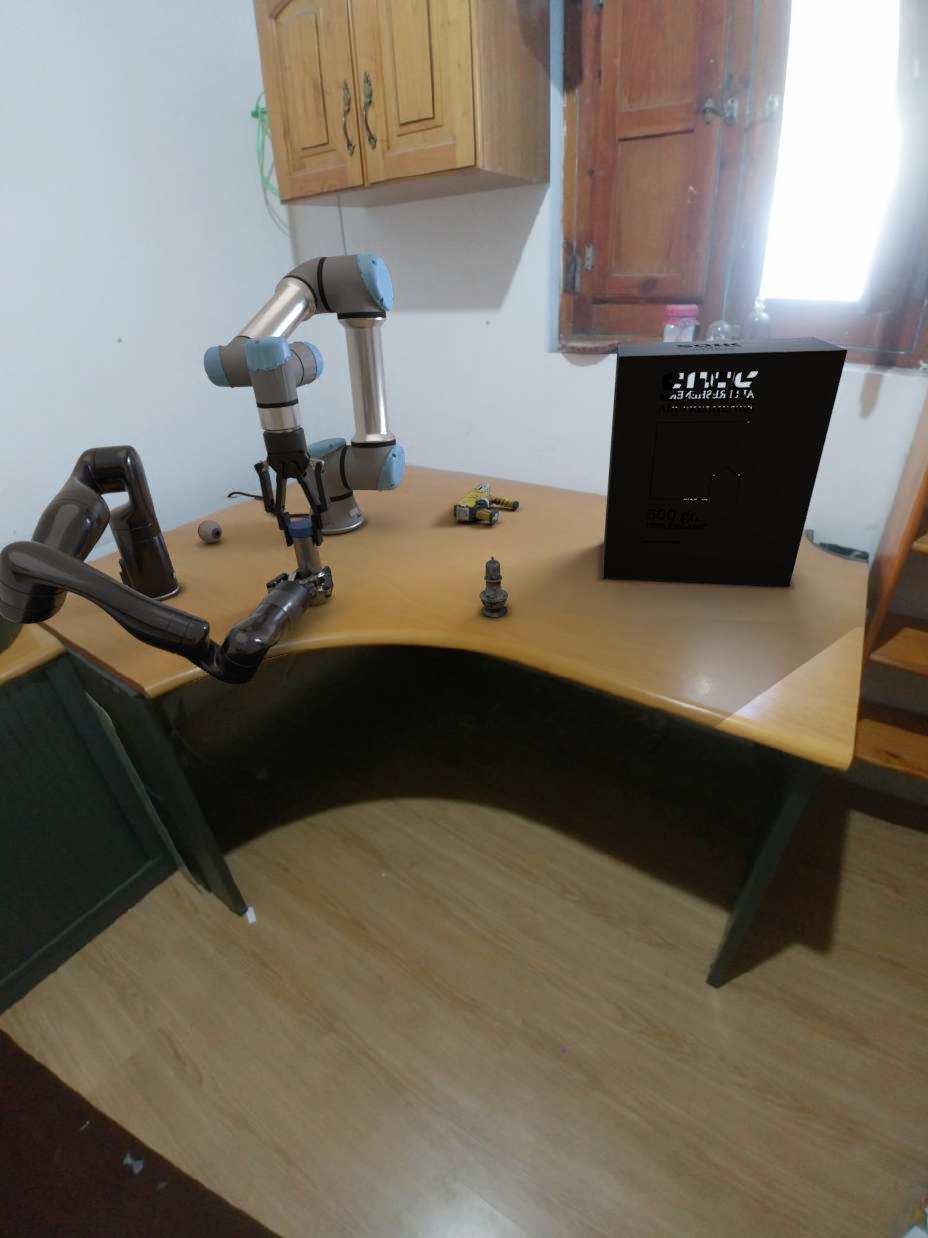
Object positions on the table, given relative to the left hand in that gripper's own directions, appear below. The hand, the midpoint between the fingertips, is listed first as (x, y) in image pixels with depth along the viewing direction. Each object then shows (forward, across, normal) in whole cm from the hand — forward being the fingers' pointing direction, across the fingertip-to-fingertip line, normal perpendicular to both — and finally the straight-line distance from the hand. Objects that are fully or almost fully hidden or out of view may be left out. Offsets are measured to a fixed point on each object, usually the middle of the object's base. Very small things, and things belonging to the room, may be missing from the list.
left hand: (316, 569), depth 130 cm
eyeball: (+27, -42, -6) cm, 50 cm away
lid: (-3, 0, +11) cm, 11 cm away
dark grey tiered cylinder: (-4, +39, -6) cm, 40 cm away
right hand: (-3, 0, +7) cm, 8 cm away
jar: (-3, 0, -6) cm, 7 cm away
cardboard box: (+22, +80, -6) cm, 83 cm away
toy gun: (+54, +30, -6) cm, 62 cm away
